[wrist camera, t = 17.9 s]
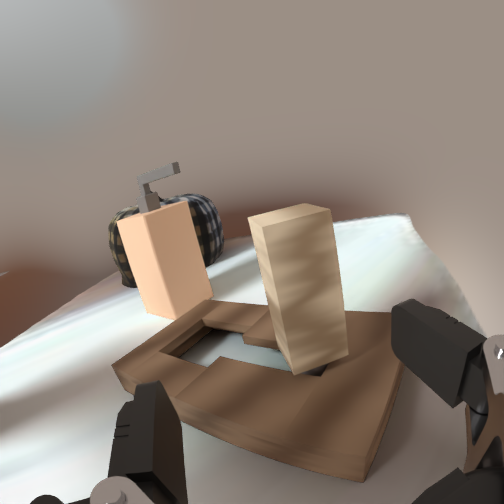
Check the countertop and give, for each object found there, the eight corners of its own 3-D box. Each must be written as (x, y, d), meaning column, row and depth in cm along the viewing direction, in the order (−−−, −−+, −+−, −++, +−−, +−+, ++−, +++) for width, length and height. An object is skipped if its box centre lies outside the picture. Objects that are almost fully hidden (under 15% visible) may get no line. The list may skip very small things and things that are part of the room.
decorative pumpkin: (250, 242, 79) (231, 166, 73) (174, 294, 55) (143, 189, 50) (171, 249, 94) (153, 187, 89) (98, 288, 71) (73, 213, 65)
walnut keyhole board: (124, 389, 29) (111, 365, 28) (212, 321, 41) (205, 299, 40) (363, 482, 14) (365, 457, 13) (410, 342, 26) (411, 313, 25)
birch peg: (298, 419, 21) (256, 229, 17) (281, 382, 26) (241, 218, 22) (357, 396, 22) (338, 208, 18) (332, 364, 27) (307, 201, 23)
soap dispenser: (146, 313, 49) (106, 186, 43) (181, 291, 55) (148, 175, 49) (196, 325, 41) (149, 168, 35) (233, 298, 48) (197, 157, 42)
